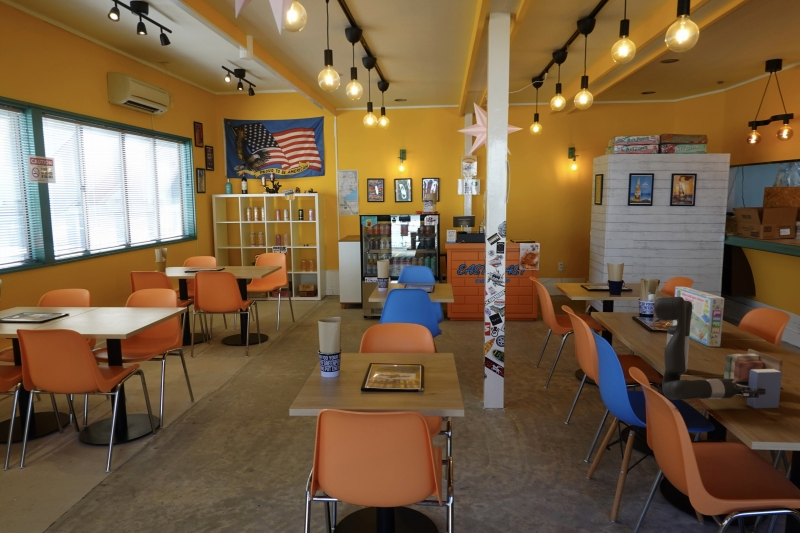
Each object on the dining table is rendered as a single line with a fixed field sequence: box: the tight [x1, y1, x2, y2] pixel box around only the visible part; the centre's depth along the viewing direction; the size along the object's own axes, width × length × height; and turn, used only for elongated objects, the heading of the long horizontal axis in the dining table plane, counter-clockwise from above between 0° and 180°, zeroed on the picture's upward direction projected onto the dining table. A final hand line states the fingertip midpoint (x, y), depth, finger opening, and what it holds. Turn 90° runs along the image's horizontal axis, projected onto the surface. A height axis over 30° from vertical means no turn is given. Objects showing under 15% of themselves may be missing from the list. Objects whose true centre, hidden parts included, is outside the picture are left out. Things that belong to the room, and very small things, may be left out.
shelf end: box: [723, 348, 784, 402], centre depth 217 cm, size 12×18×16 cm, turn 6°
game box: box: [671, 286, 725, 347], centre depth 306 cm, size 40×7×27 cm, turn 179°
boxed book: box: [746, 369, 783, 409], centre depth 203 cm, size 10×4×14 cm, turn 96°
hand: (756, 387), depth 203 cm, fingers open, 8 cm apart
